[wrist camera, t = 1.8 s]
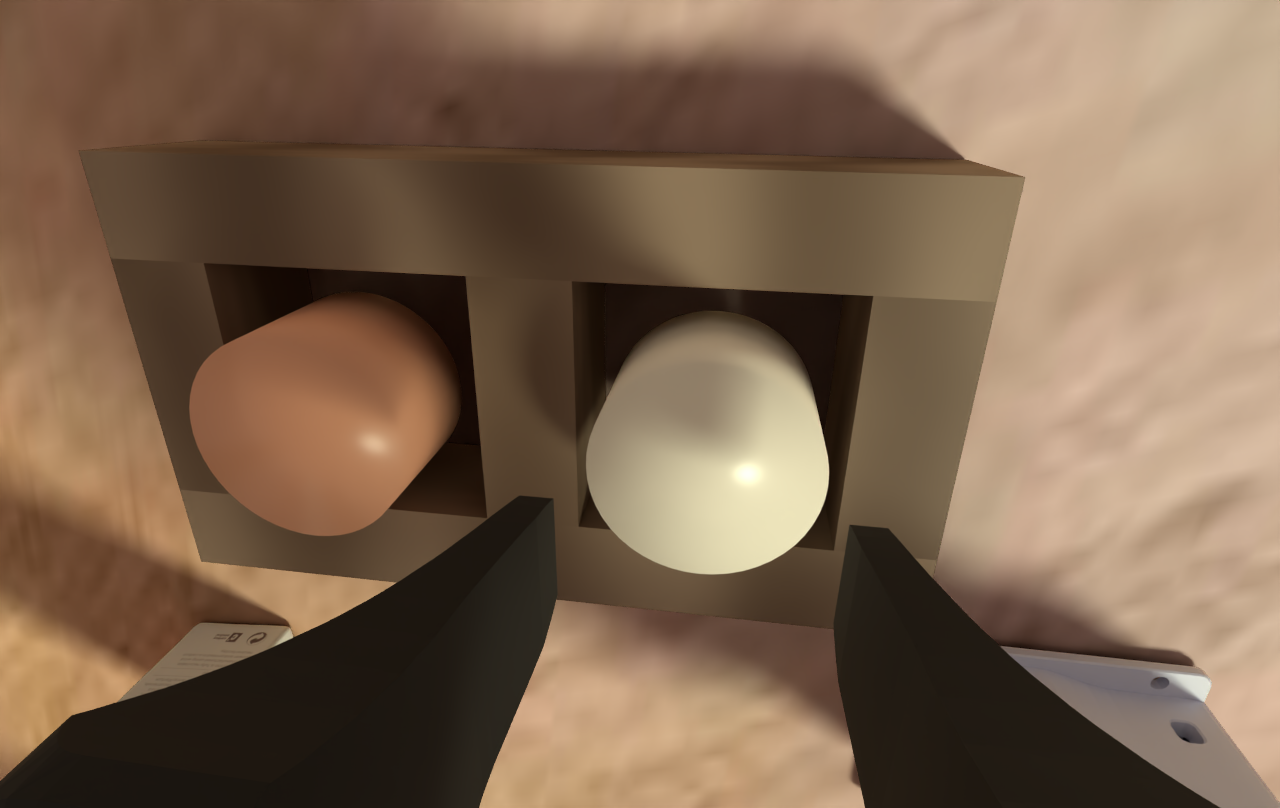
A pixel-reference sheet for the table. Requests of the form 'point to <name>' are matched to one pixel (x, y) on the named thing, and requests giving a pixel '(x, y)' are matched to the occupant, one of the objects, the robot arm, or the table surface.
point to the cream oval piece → (709, 446)
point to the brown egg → (326, 412)
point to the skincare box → (208, 653)
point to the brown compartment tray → (573, 326)
